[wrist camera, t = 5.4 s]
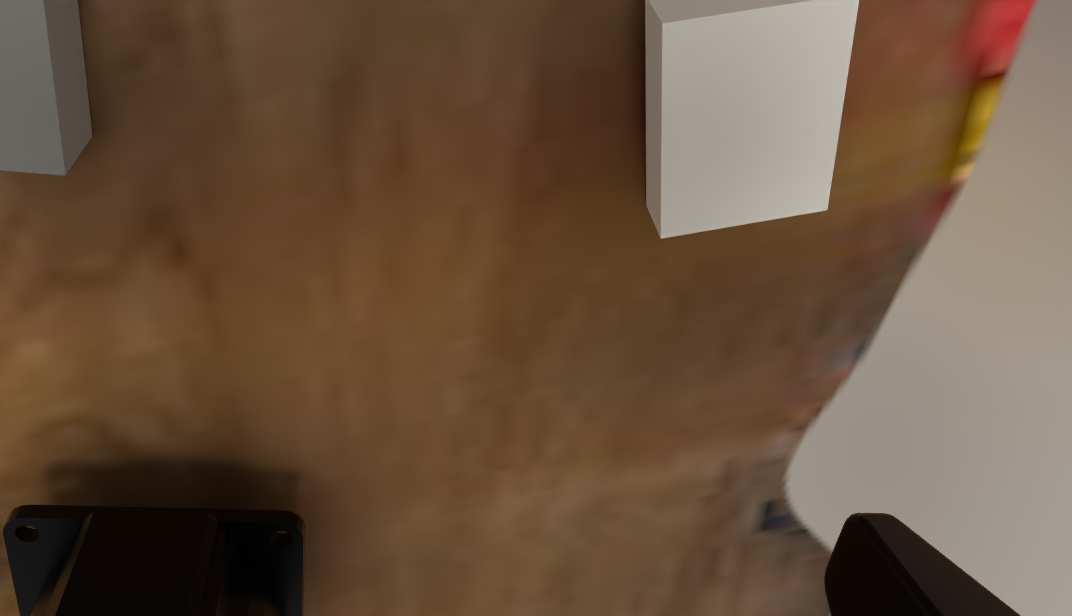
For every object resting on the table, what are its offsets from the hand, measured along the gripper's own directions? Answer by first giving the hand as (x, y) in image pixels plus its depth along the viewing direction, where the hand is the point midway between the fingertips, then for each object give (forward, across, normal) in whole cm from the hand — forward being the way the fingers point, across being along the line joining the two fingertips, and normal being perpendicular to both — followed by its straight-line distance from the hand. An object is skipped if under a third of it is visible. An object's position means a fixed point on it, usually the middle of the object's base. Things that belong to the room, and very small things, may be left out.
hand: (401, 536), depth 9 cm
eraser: (+12, -4, -2) cm, 13 cm away
